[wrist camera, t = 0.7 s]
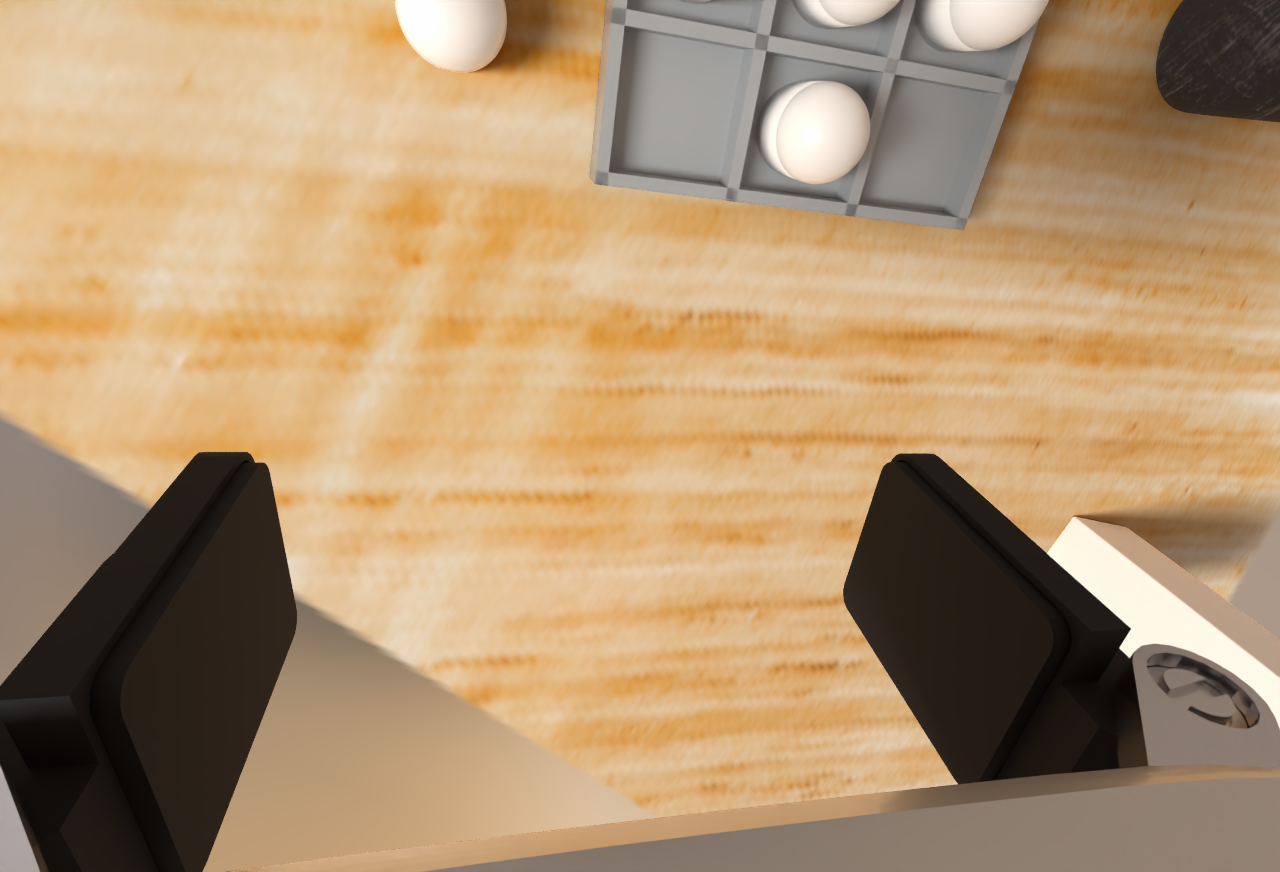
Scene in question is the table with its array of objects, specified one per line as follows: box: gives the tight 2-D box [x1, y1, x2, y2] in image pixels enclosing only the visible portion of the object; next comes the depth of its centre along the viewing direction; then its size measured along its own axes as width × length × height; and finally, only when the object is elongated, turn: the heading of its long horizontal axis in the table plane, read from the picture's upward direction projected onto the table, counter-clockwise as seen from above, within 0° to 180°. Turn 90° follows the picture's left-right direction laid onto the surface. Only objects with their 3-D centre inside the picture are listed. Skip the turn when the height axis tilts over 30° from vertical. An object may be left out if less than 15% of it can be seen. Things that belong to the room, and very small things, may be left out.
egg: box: [395, 0, 507, 73], centre depth 27 cm, size 4×4×5 cm
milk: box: [1047, 516, 1280, 728], centre depth 44 cm, size 6×6×22 cm
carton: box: [590, 0, 1049, 230], centre depth 30 cm, size 20×14×6 cm
